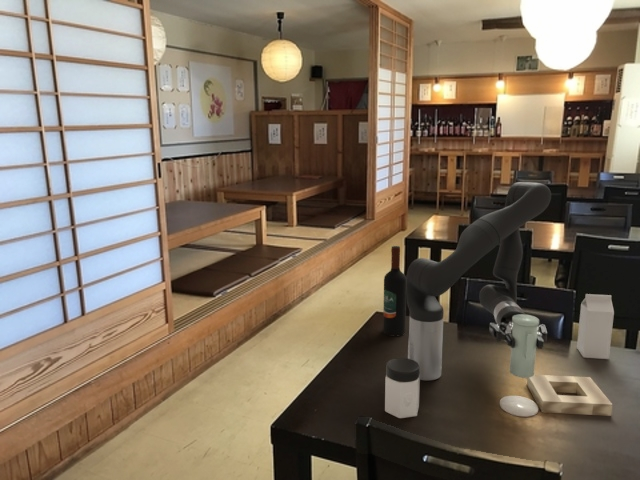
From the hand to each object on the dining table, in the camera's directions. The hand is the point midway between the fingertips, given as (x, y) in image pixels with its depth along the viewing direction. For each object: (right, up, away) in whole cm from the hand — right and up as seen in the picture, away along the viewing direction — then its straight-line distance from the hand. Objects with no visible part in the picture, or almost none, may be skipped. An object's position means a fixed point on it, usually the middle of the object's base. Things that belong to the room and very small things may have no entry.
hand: (526, 344), depth 123 cm
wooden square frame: (+14, -16, +9) cm, 23 cm away
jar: (-29, -18, +6) cm, 34 cm away
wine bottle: (-24, -7, +54) cm, 60 cm away
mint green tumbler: (0, -8, +4) cm, 9 cm away
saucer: (0, -17, +6) cm, 18 cm away
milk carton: (+34, -10, +36) cm, 50 cm away
